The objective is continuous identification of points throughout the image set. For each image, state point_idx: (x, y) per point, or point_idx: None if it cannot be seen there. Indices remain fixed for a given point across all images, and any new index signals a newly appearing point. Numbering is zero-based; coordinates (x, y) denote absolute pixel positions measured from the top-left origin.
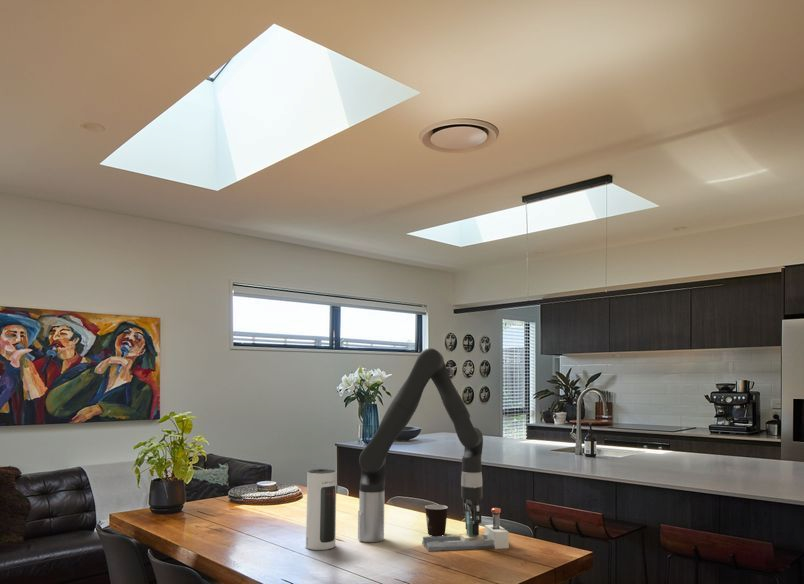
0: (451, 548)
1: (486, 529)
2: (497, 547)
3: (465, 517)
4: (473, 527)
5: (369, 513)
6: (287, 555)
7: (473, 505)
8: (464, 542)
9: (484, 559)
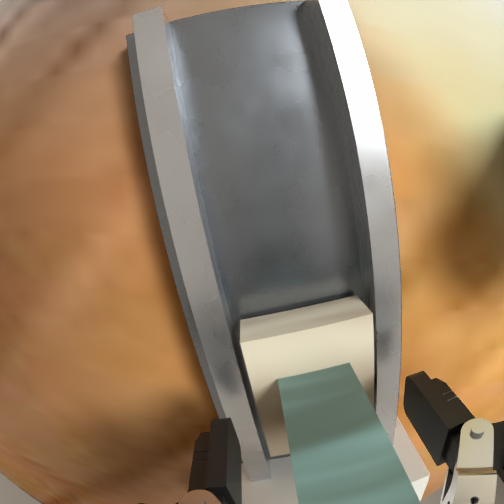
0: (157, 206)
1: None
2: None
3: (468, 433)
4: (208, 469)
5: None
6: None
7: None
8: (199, 324)
9: (28, 371)
